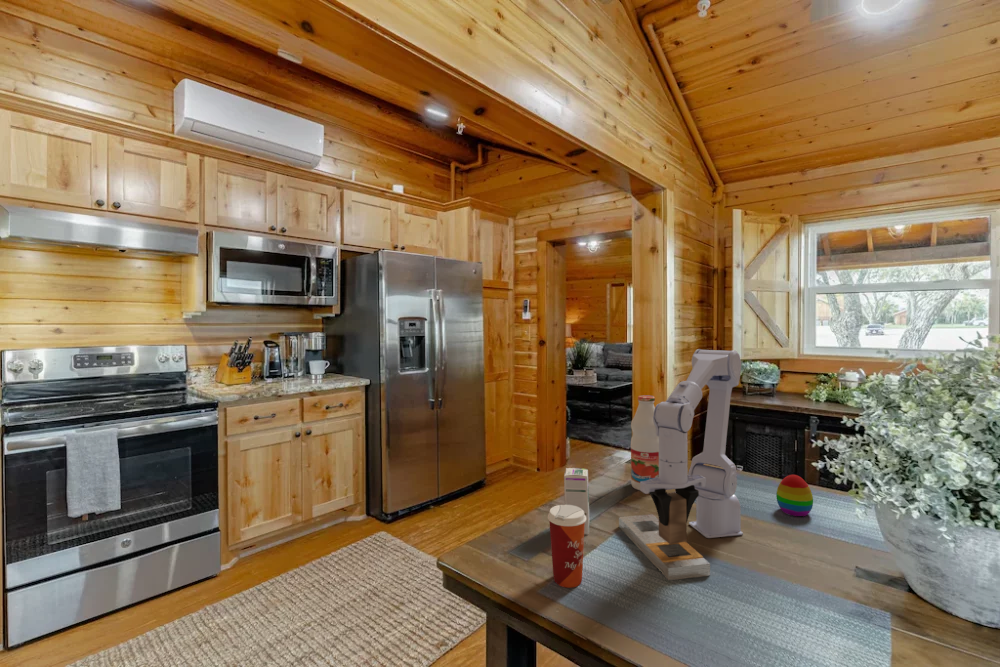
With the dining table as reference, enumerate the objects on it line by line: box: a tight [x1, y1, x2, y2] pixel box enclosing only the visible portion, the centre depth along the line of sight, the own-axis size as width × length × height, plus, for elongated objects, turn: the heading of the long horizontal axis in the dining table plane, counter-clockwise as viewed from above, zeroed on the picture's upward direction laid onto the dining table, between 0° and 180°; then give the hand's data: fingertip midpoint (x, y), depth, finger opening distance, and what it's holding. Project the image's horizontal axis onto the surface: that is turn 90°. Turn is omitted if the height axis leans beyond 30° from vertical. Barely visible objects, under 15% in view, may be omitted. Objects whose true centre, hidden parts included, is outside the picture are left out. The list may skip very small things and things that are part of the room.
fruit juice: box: [630, 394, 659, 491], centre depth 142 cm, size 9×9×28 cm
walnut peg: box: [659, 491, 688, 544], centre depth 98 cm, size 4×4×9 cm
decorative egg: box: [776, 474, 814, 517], centre depth 122 cm, size 8×8×10 cm
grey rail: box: [618, 513, 711, 581], centre depth 104 cm, size 9×24×3 cm, turn 9°
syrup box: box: [563, 467, 590, 536], centre depth 115 cm, size 6×6×14 cm
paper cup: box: [547, 504, 586, 589], centre depth 93 cm, size 8×8×14 cm
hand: (673, 522), depth 98 cm, fingers closed on walnut peg, 4 cm apart
